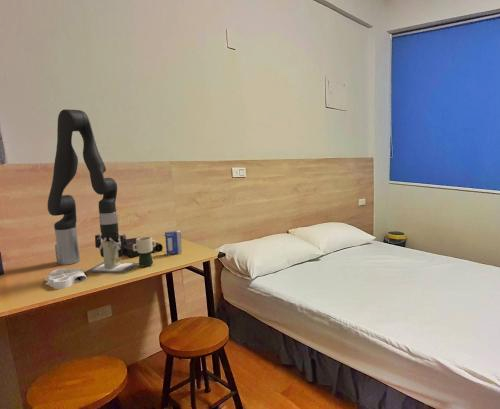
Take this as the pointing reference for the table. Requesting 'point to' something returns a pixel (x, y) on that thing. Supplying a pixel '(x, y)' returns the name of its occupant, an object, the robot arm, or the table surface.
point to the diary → (129, 249)
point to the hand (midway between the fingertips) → (112, 256)
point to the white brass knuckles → (64, 277)
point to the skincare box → (110, 255)
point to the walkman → (173, 242)
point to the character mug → (144, 250)
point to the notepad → (118, 269)
